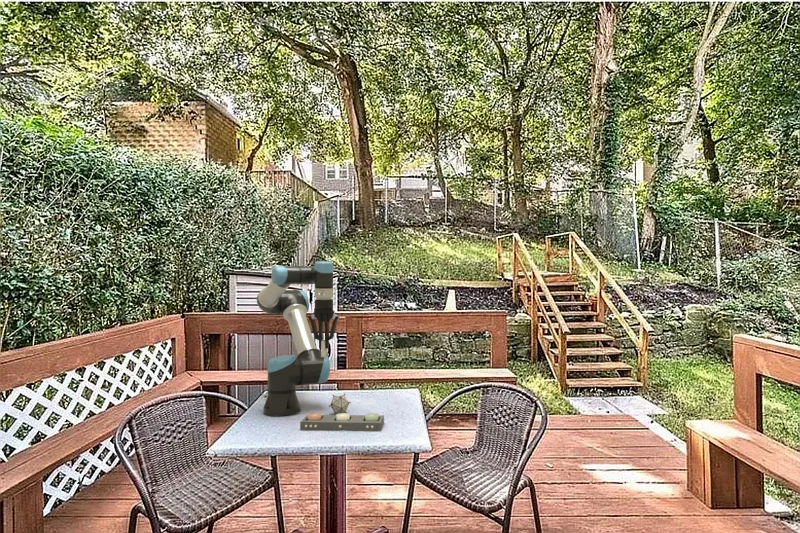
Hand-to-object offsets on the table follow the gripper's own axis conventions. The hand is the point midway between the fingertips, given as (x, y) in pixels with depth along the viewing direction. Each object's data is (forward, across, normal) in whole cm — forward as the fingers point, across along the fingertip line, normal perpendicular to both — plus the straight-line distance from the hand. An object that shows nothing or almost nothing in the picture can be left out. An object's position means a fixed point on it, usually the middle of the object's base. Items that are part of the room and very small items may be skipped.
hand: (323, 356), depth 226 cm
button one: (+23, +12, -16) cm, 30 cm away
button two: (+23, +23, -15) cm, 36 cm away
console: (+24, +12, -16) cm, 31 cm away
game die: (+24, +6, +4) cm, 25 cm away
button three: (+23, +1, -16) cm, 28 cm away
